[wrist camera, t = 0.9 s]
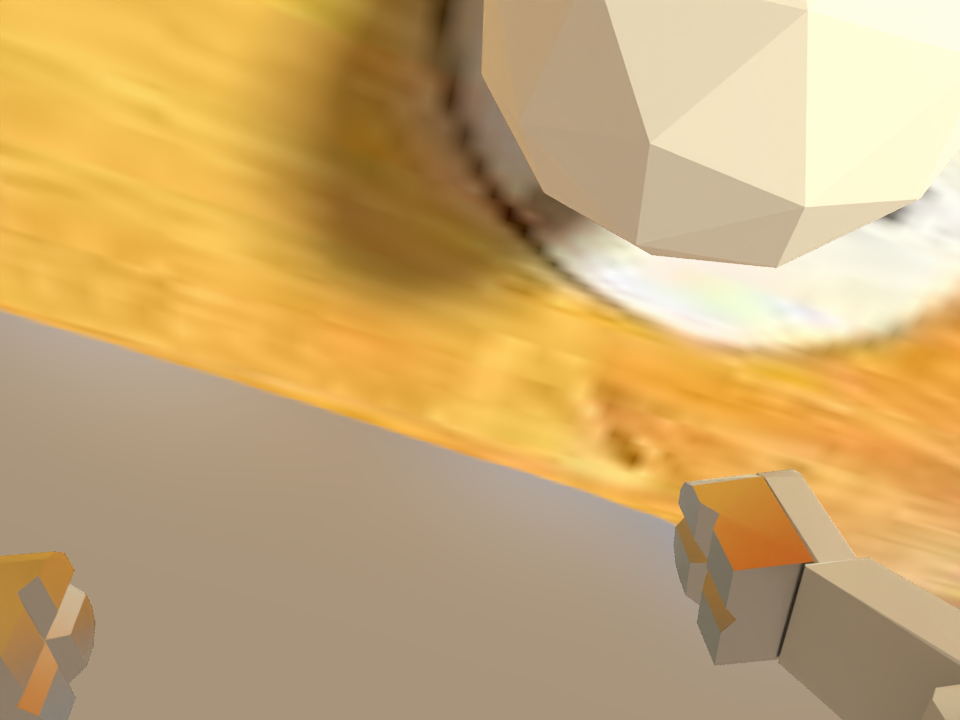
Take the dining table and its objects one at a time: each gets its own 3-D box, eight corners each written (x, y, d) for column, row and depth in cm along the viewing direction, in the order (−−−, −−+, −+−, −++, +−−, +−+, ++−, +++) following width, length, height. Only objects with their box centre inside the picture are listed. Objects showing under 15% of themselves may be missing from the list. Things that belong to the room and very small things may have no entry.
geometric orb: (536, 3, 44) (341, 198, 32) (735, -485, 28) (490, -450, 16) (823, 182, 44) (731, 445, 32) (1194, -210, 28) (1283, 30, 16)
